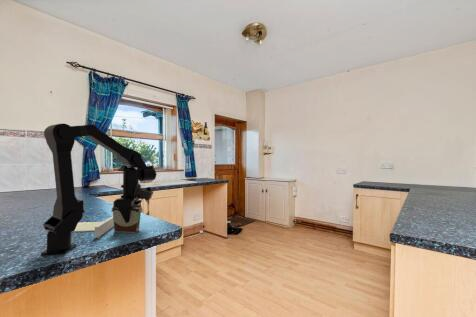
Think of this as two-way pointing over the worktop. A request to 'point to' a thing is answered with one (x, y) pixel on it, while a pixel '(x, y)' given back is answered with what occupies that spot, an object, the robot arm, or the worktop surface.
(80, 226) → the resting mat
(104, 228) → the low wall
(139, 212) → the food container
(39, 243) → the worktop surface
